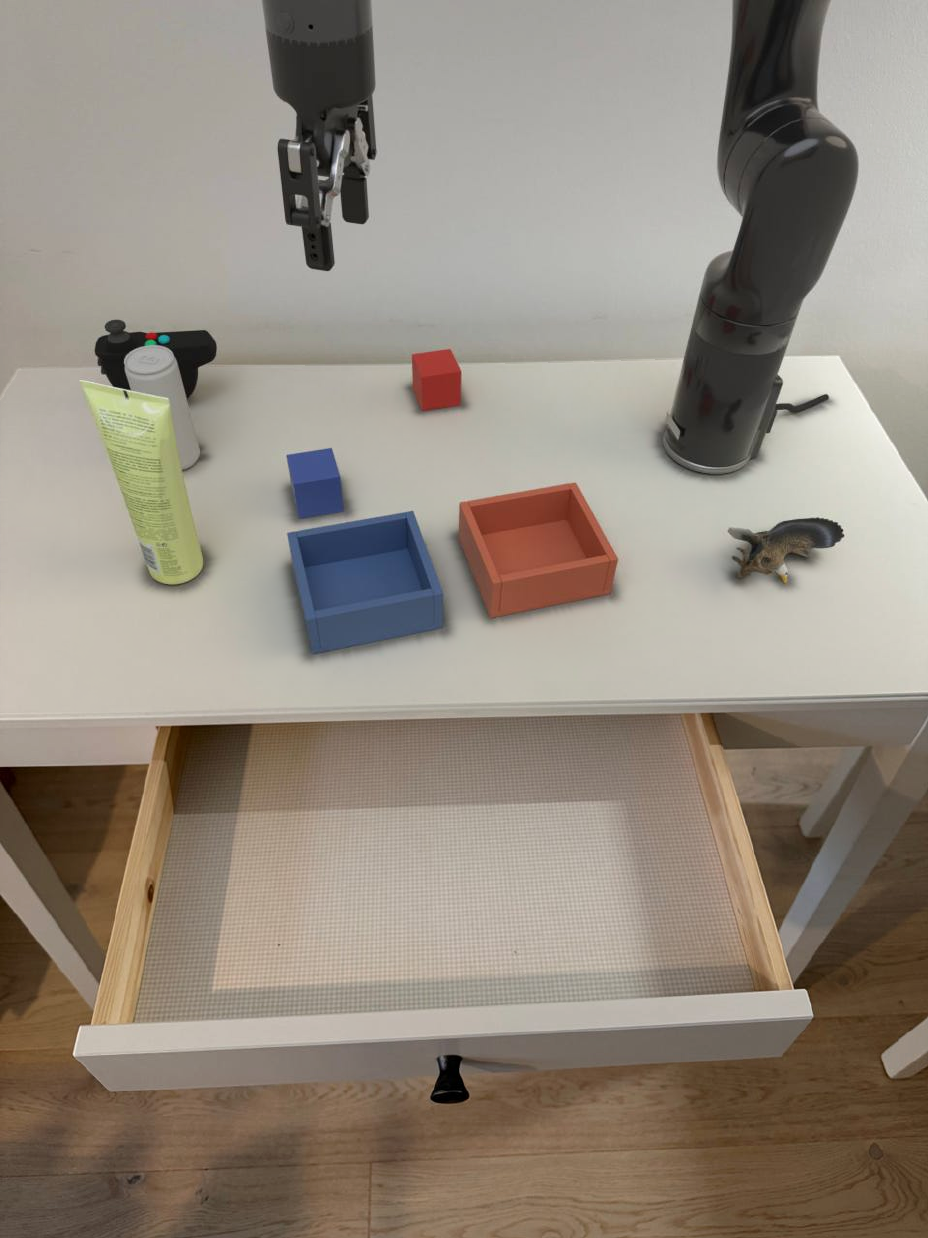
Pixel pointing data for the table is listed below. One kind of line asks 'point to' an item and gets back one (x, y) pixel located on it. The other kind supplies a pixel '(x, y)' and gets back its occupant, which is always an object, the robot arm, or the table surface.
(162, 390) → the upturned grey cup
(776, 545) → the eagle figurine
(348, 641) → the blue bin
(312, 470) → the blue block
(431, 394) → the red block
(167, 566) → the tube
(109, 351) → the controller
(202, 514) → the table surface
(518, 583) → the red bin
